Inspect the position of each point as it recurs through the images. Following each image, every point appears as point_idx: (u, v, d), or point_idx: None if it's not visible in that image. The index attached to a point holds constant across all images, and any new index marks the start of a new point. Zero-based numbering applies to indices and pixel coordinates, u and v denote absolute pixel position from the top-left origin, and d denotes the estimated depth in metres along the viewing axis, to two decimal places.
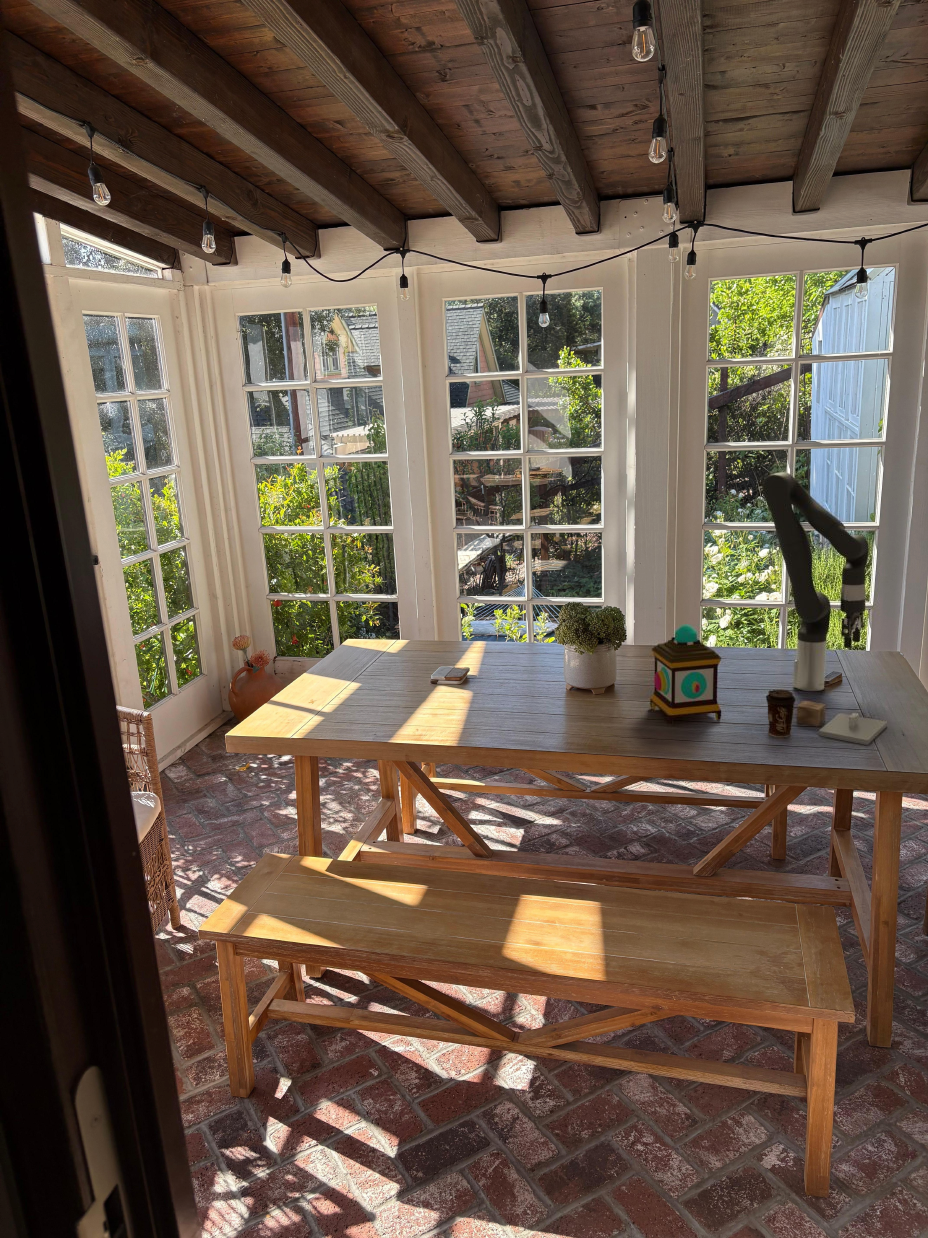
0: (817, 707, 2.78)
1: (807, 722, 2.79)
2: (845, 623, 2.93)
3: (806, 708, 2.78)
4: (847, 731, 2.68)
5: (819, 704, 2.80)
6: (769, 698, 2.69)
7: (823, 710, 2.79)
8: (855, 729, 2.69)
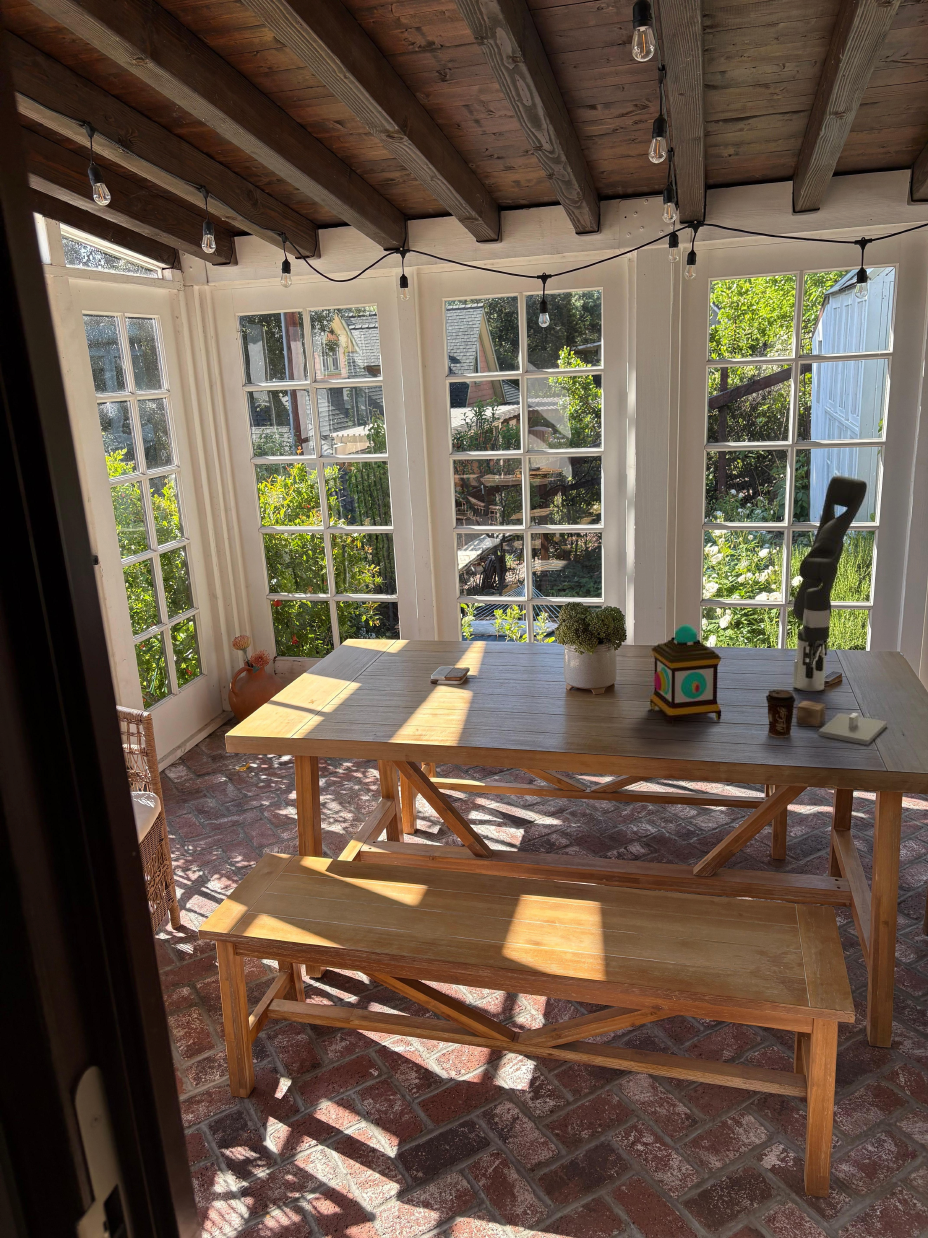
0: (817, 707, 2.78)
1: (807, 722, 2.79)
2: (807, 652, 2.71)
3: (806, 708, 2.78)
4: (847, 731, 2.68)
5: (819, 704, 2.80)
6: (769, 698, 2.69)
7: (823, 710, 2.79)
8: (855, 729, 2.69)
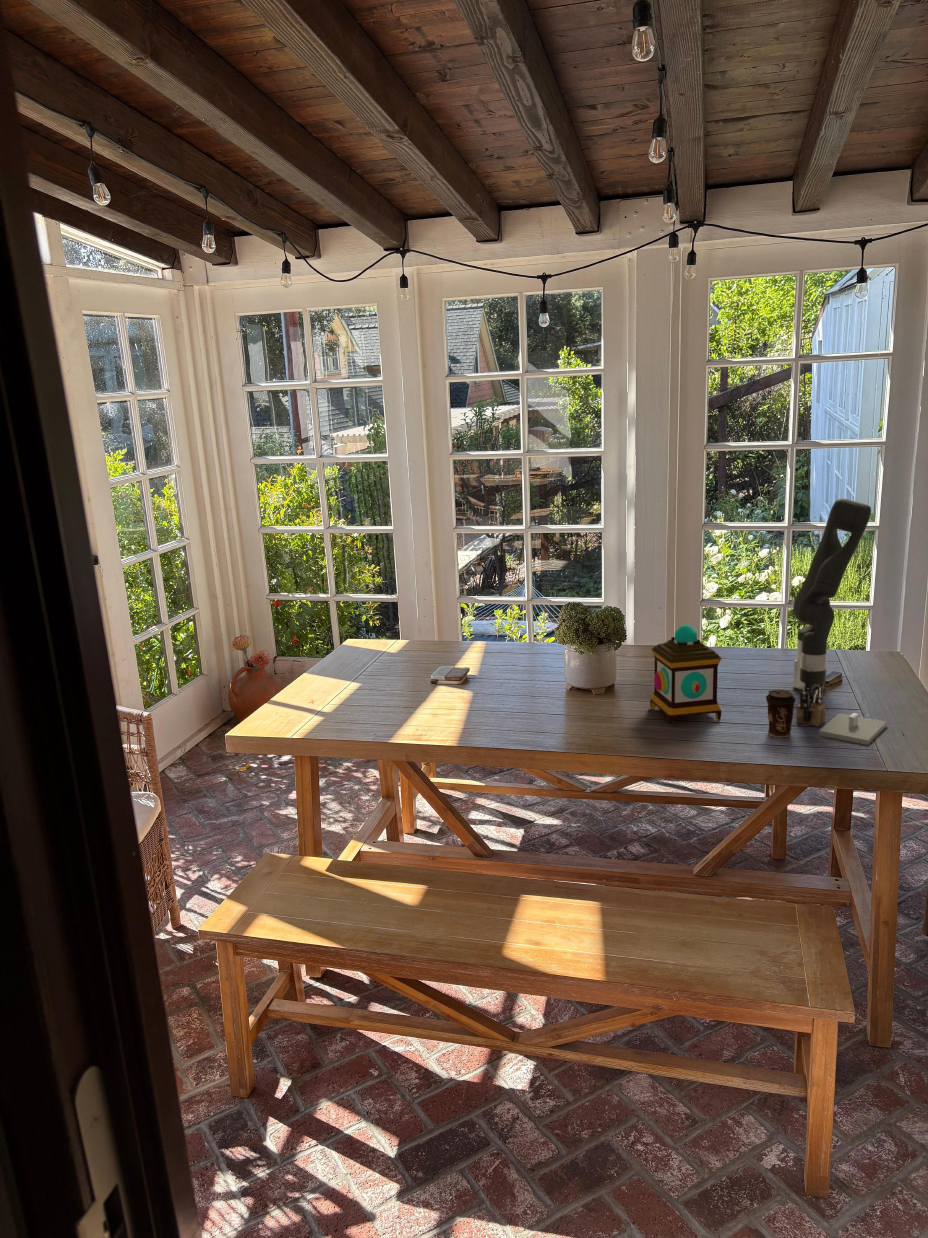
0: (817, 707, 2.78)
1: (807, 722, 2.79)
2: (804, 697, 2.74)
3: None
4: (847, 731, 2.68)
5: (819, 704, 2.80)
6: (769, 698, 2.69)
7: (823, 710, 2.79)
8: (855, 729, 2.69)
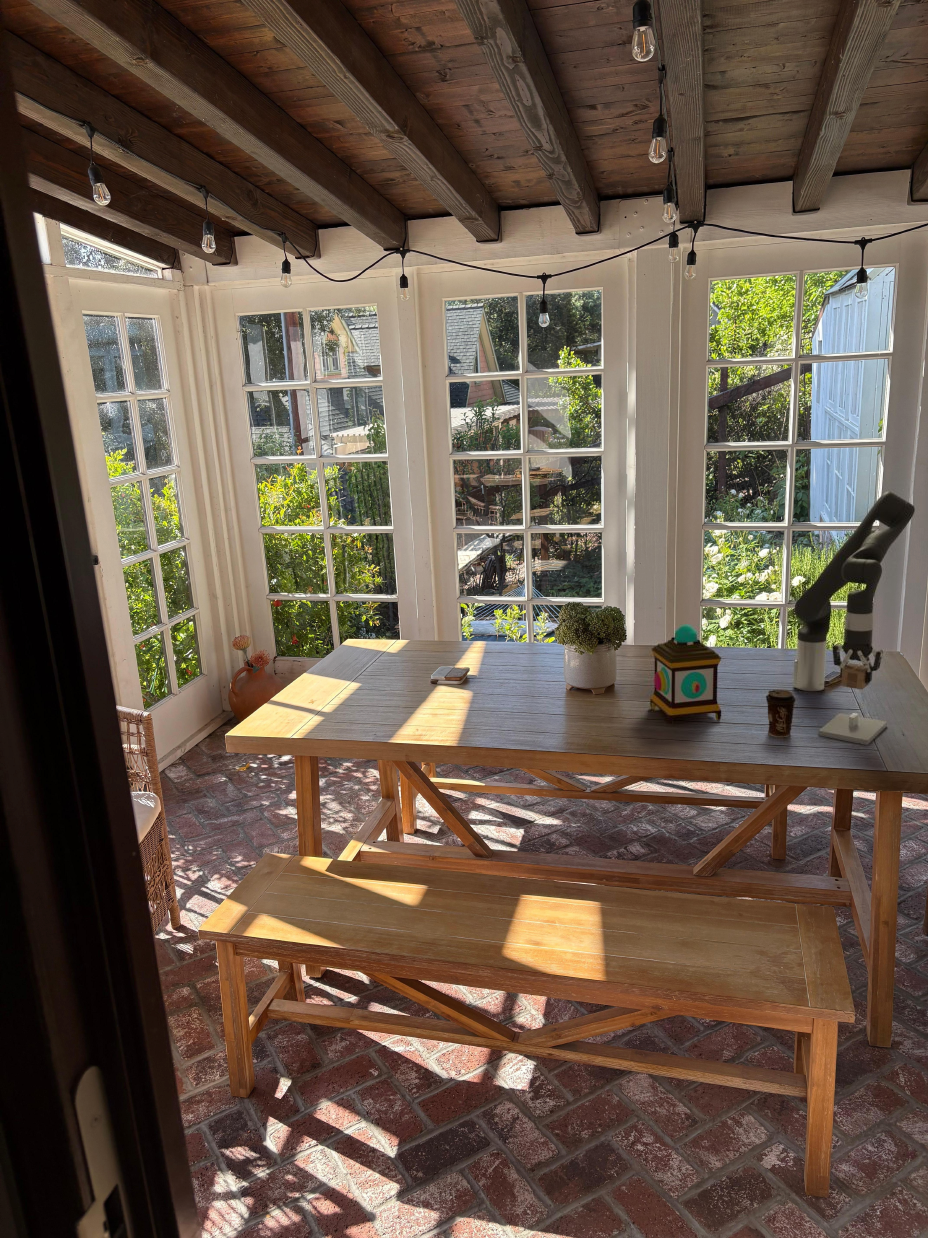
0: (849, 668, 2.67)
1: None
2: None
3: None
4: (847, 731, 2.68)
5: (860, 670, 2.65)
6: (769, 698, 2.69)
7: (857, 676, 2.65)
8: (855, 729, 2.69)
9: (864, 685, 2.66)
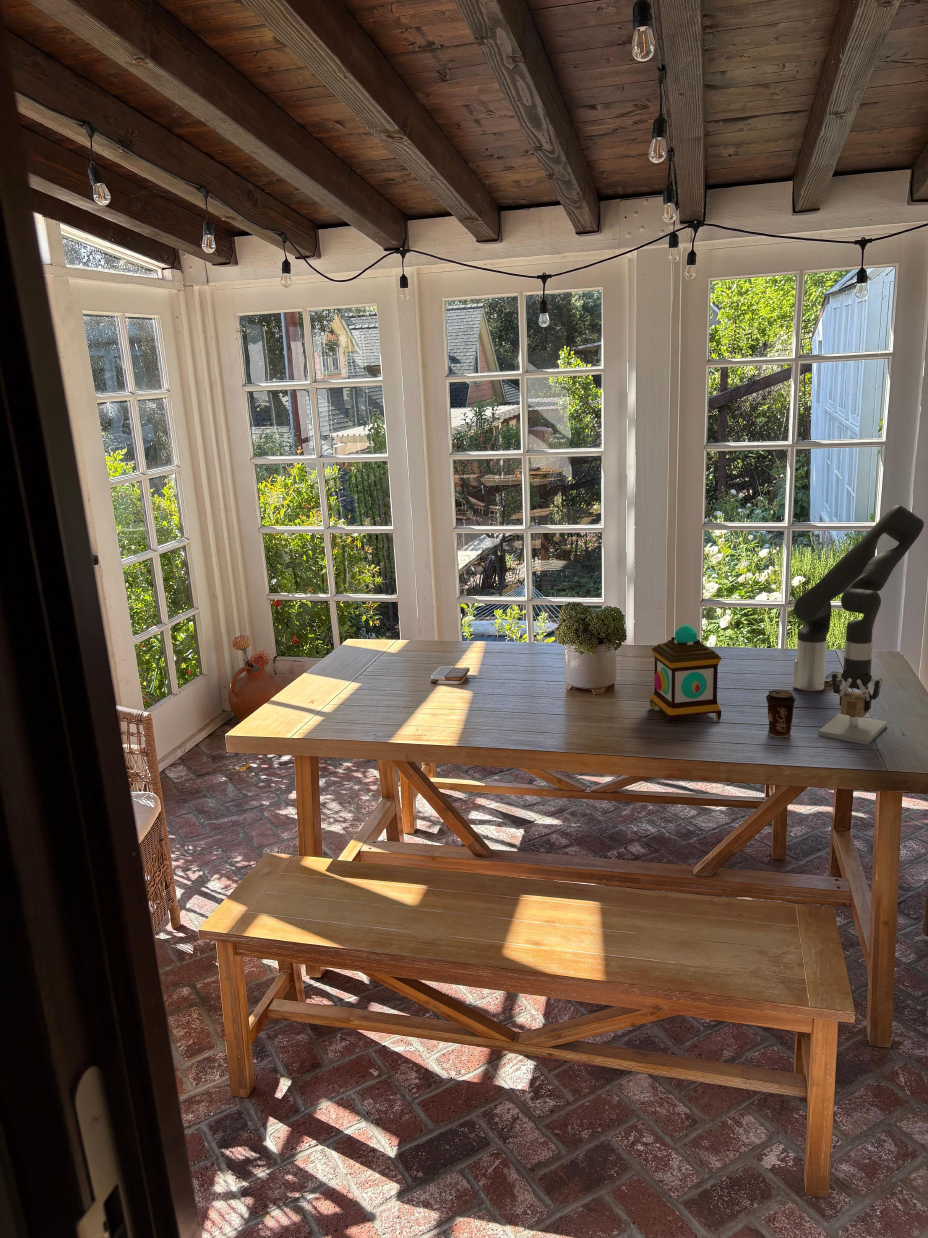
0: (849, 697, 2.69)
1: None
2: None
3: None
4: (847, 731, 2.68)
5: (860, 698, 2.67)
6: (769, 698, 2.69)
7: (856, 704, 2.67)
8: (855, 729, 2.69)
9: (863, 713, 2.68)
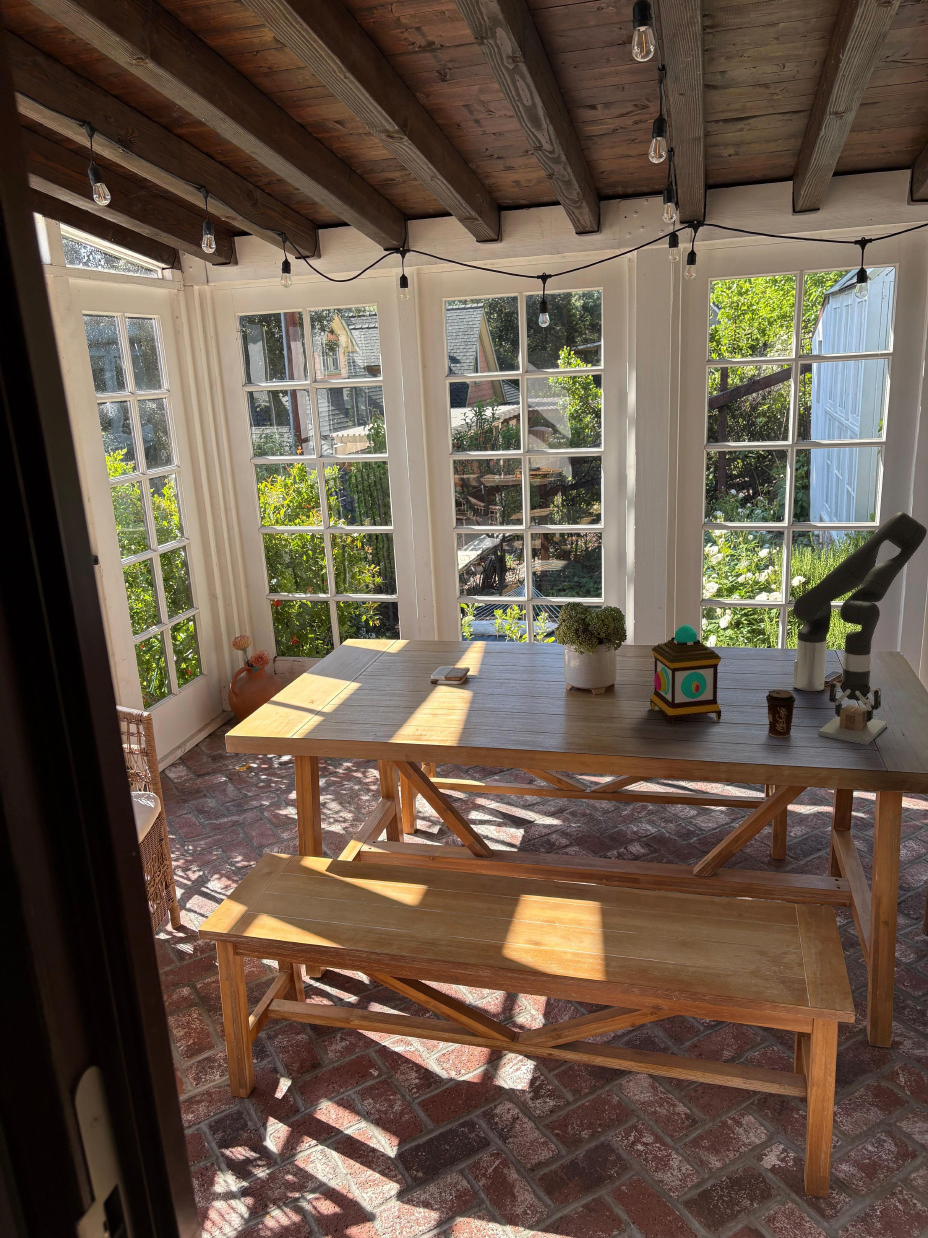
0: (847, 710, 2.70)
1: None
2: None
3: None
4: (847, 731, 2.68)
5: (858, 712, 2.68)
6: (769, 698, 2.69)
7: (855, 718, 2.68)
8: None
9: (862, 727, 2.69)
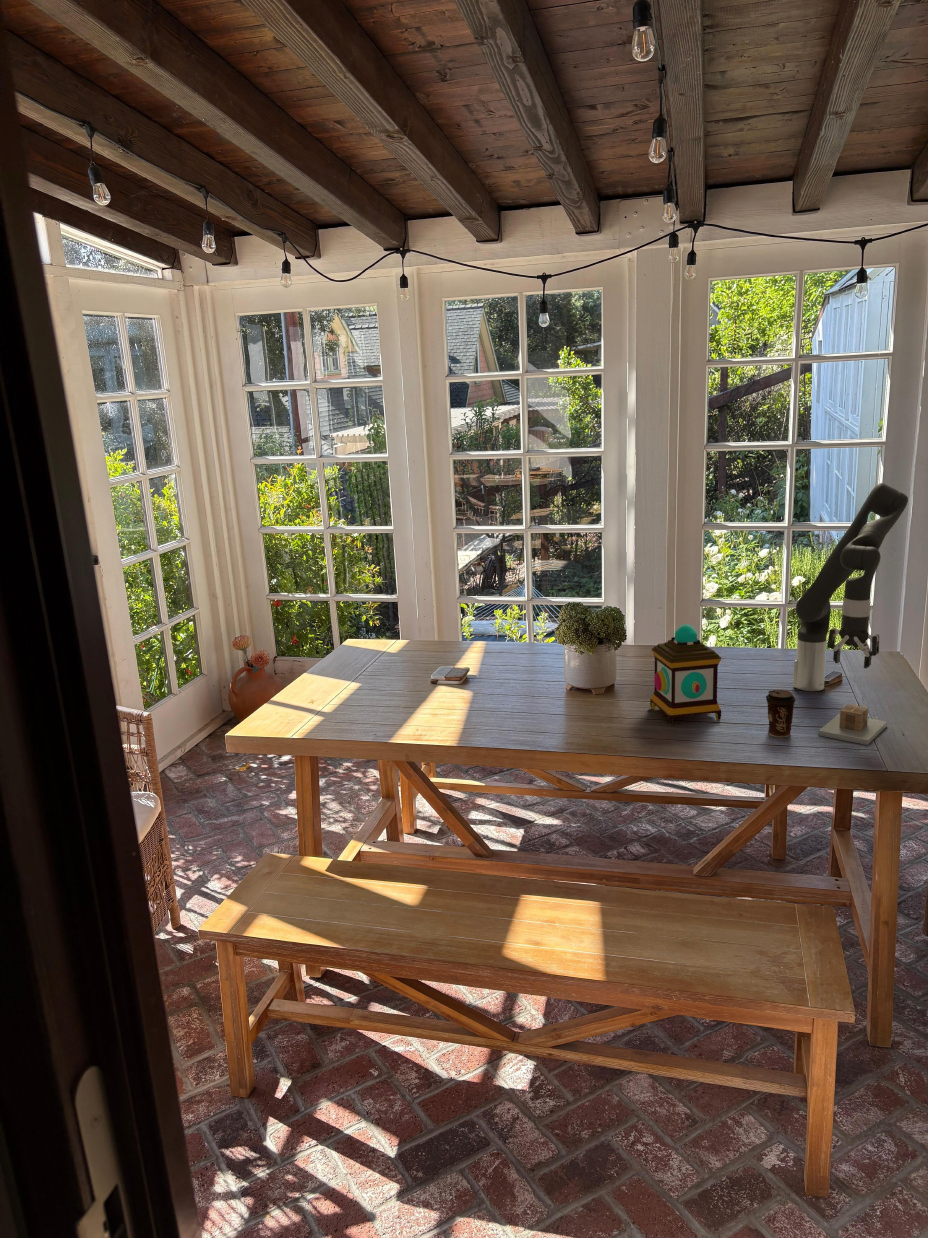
0: (847, 710, 2.70)
1: None
2: None
3: None
4: (847, 731, 2.68)
5: (858, 712, 2.68)
6: (769, 698, 2.69)
7: (855, 718, 2.68)
8: None
9: (862, 727, 2.69)
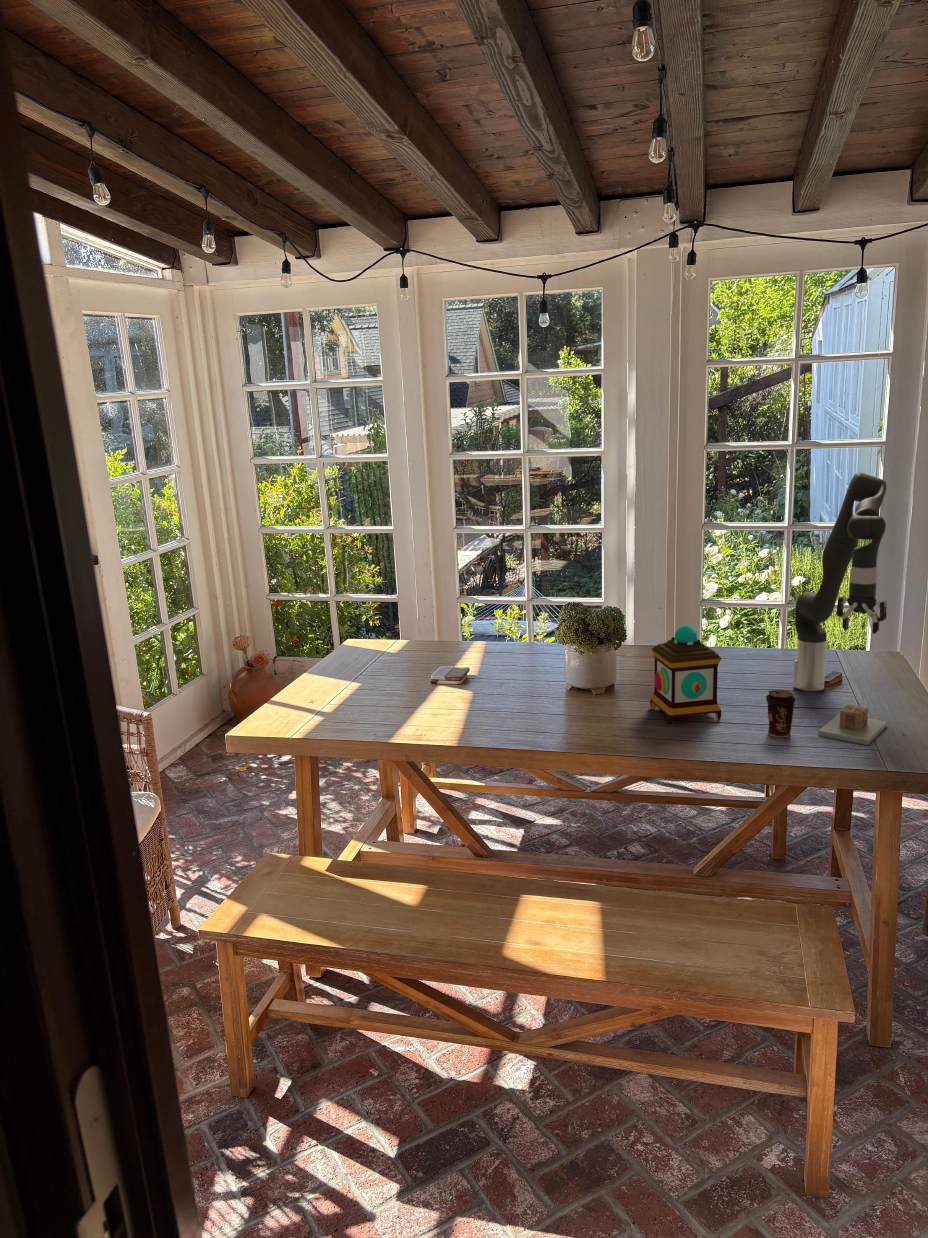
0: (847, 710, 2.70)
1: None
2: None
3: None
4: (847, 731, 2.68)
5: (858, 712, 2.68)
6: (769, 698, 2.69)
7: (855, 718, 2.68)
8: None
9: (862, 727, 2.69)
